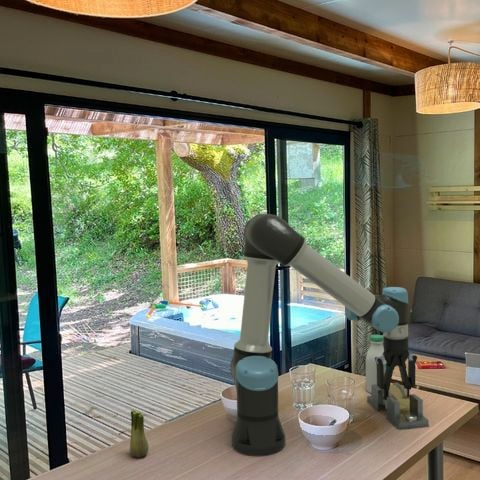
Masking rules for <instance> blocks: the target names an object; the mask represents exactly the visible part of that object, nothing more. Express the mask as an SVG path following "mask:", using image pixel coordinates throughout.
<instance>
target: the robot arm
mask: <svg viewBox="0 0 480 480" xmlns="http://www.w3.org/2000/svg"><path fill="white" fill-rule="evenodd" d="M243 239H244V244H243V245H244V247H243V258H244V259H245V260H246V262H247V266H246V274H245V275H246V276H245V277H246V278H245V288H244V297H243V306H242V315H241V316H242V317H241V326H240V327H241V328H240V333H239V334H240V336H239V340H238V341H236V342H235V343H234V346H233V348H234V349H233V355H232V357H231V360H230V366H229V367H230V368H229V369H230V374H231V377H232V379H233V382H234V386H235V390H236V412H237V413H236V416H237V417H236V420H235V423H234V426H233V430H232V433H231V446H232V448H233V449H234V450H235V451H237V452H238V453H241V454H244V455H246V456H247V455H248V456H255V457H257V456H259V457H262V456H268V455H273V454H277V453H278V452H280V451H282V450H283V449H284V448H285V446H286V433H285V430H284V428H283V425H282V422H281V419H280V417H279V416H280V415H279V371H278V370H279V369H278V365H277V363H276V362H275V361H274V360H273V359H272V354H273V353H272V351H273V347H272V346H271V345H270V344H269V333H270V324H271V313H272V305H273V296H274V286H275V275H276V268H277V267H276V266H277V265H278V264H279V263H280V265H282V266H284V267H291V268H293V269H294V270H295V271H296V272H298V273H300V275H302V276H304V277H305V278H306V279H307V280H308V281H310V282H312V283H313V284H314V285H316V286H317V287H318V288H320V289H322V291H324V292H325V293H326V294H328V295H329V296H331V297H332V298H333V299H335V300H336V301H337V302H339V303H340V304H342V305H343V306H344V312H345V316H346V317H347V320H349V321H353V322H358V321H362V322H365V324H368V326H370V327H372V328H373V329H375V330H376V331H379V332H380V333H383V335H382V336H383V348H384V352H383V355H382V356H380V357H375V361H376V364H377V386H378V387H379V388H380V389H383V398H384V399H385V400H386V409H387V397H389V396H392V391H391V390H390V389H389V388H390V385H391V383H392V378H393V373H394V370H395V367H396V368H397V367H398V369H399V374H400V377H401V383H402V386H403V387H401V391H402V392H403V393H404V394H405V395H406V396H407V397H409V395H410V390H411V389H412V387H415V386H416V362H417V359H418V356H417V355H415V354H414V353H410V352H409V338H408V336H409V303H410V302H409V294H408V290H407V288H404V287H398V286H388V287H384V288H383V289H382V292H381V293H382V294H378V295H377V294H373V293H372V292H371V291H369V290H368V289H366V288H365V287H364V286H363V285H362V284H360V283H359V282H357V281H356V280H355V279H354V278H352V277H351V276H349V275H348V274H347V273H345V271H343V270H341V269H340V268H339V267H337V266H336V265H335V264H334V263H332V262H331V261H329V260H328V259H327V258H326V257H324V256H323V255H322V254H320V253H319V252H318V251H316V250H315V249H314V248H313V247H311V246H309V245H308V244H307V239H306V238H305V237H304V236H302V235H301V234H300V233H299V232H297V231H296V230H295V229H294V228H293V227H292V226H291V225H290V224H289V223H288V222H287V221H286V220H284V219H283V218H282V217H280V216H279V215H276V214H270V213H269V214H268V213H258V214H256V215H254V216H252V217H251V218H250V219H249V220H248V221H247V222H246V224H245V226H244V229H243ZM384 359H385V360H386V371H385V376H384V366H383V363H384ZM406 361H407V364H406Z"/></svg>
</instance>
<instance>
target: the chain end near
mask: <svg viewBox="0 0 480 480" xmlns="http://www.w3.org/2000/svg"><path fill="white" fill-rule="evenodd" d="M409 398H410V414H407V415H399V402H398V401H397V400H396V399H395V398H393V397H392V396H389V397H387V410H386V413H385V416H386V418H385V419H386V420H387V421H388V422H389V423H390V424H392V425H393V426H394V427H396V429H397V430H399V431H400V430H407V429H408V430H409V429H418V428H419V429H420V428H425V427H427V428H428V427H429V426H430V425H429V423H430V421H429V419H428V418H427V417H425V416H424V412H423V411H424V409H423V408H424V406H423V405H424V403H423V402H424V400H423V399H422V398H421V397H419V396H418V395H416V394H415V393H412V394H411V393H409Z"/></svg>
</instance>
